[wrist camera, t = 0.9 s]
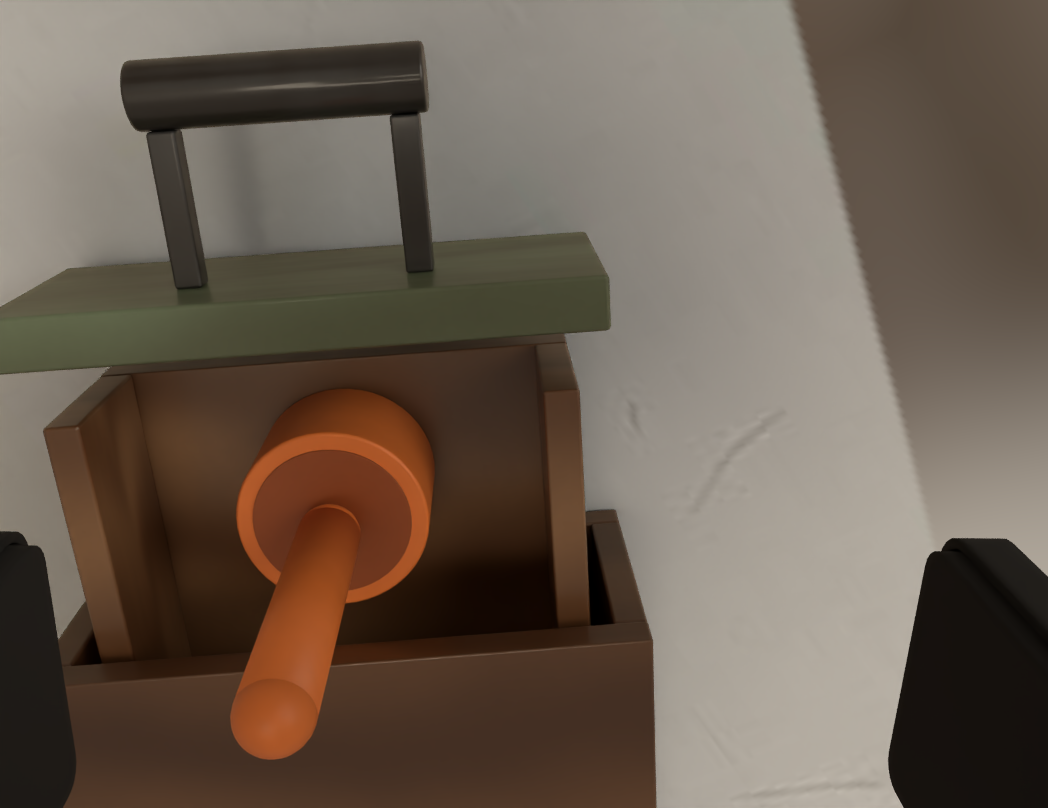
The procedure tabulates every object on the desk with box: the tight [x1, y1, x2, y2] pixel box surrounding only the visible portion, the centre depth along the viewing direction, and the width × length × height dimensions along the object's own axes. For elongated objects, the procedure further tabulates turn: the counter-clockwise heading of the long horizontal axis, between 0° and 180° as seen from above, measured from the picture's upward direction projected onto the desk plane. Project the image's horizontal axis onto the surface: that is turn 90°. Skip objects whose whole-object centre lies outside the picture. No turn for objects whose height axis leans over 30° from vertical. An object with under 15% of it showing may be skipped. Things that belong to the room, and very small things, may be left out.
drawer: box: [0, 41, 611, 664], centre depth 24 cm, size 18×13×5 cm
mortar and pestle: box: [230, 389, 435, 760], centre depth 21 cm, size 4×4×10 cm
